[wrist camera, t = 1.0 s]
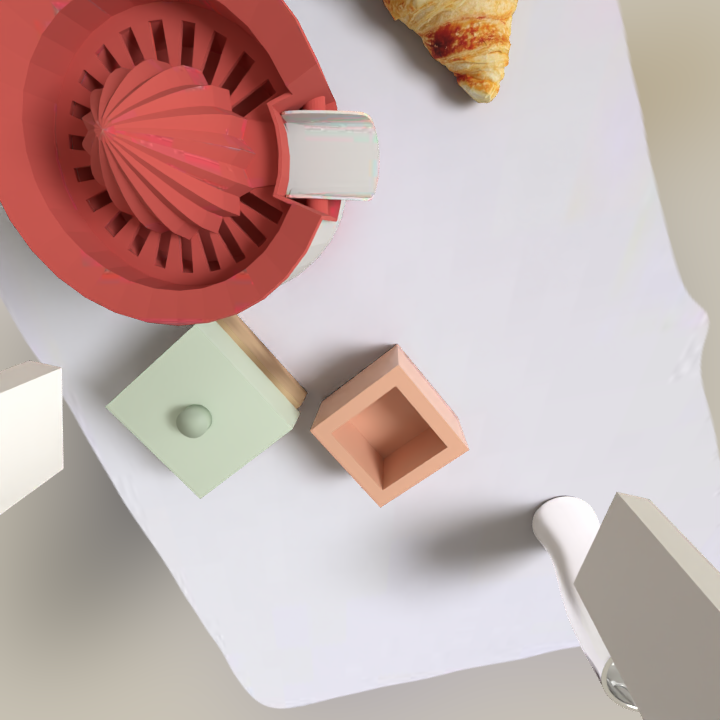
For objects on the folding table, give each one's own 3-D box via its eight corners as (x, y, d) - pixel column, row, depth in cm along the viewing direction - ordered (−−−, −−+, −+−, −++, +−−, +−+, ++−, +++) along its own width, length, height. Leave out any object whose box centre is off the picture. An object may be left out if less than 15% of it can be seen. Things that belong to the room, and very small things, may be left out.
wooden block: (146, 388, 40) (127, 400, 37) (233, 310, 37) (219, 317, 34) (219, 461, 42) (206, 478, 39) (307, 392, 39) (300, 405, 36)
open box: (321, 401, 39) (309, 431, 33) (397, 343, 37) (398, 364, 31) (381, 468, 41) (380, 507, 35) (457, 417, 38) (469, 449, 33)
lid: (127, 393, 37) (95, 413, 33) (211, 316, 34) (187, 327, 30) (214, 479, 39) (193, 507, 35) (300, 413, 36) (289, 436, 32)
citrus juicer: (382, 284, 35) (372, 346, 16) (184, 283, 37) (-39, 340, 18) (384, 70, 31) (373, -190, 12) (158, 78, 32) (-187, -148, 13)
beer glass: (554, 480, 40) (646, 620, 25) (615, 511, 40) (738, 666, 26) (513, 531, 42) (576, 688, 27) (571, 561, 42) (663, 729, 28)
